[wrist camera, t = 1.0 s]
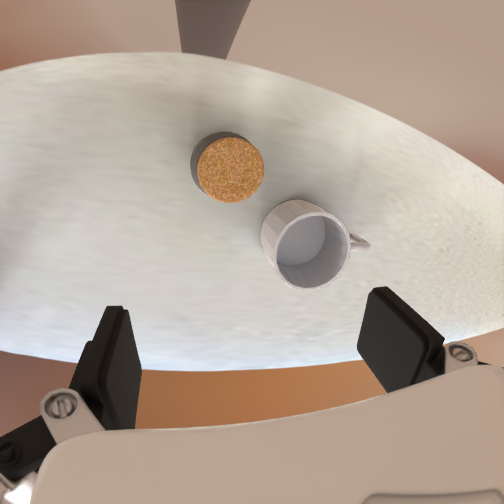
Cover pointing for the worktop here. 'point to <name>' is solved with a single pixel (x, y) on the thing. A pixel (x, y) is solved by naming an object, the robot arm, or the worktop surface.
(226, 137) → the bottle
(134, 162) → the worktop surface
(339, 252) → the mug
